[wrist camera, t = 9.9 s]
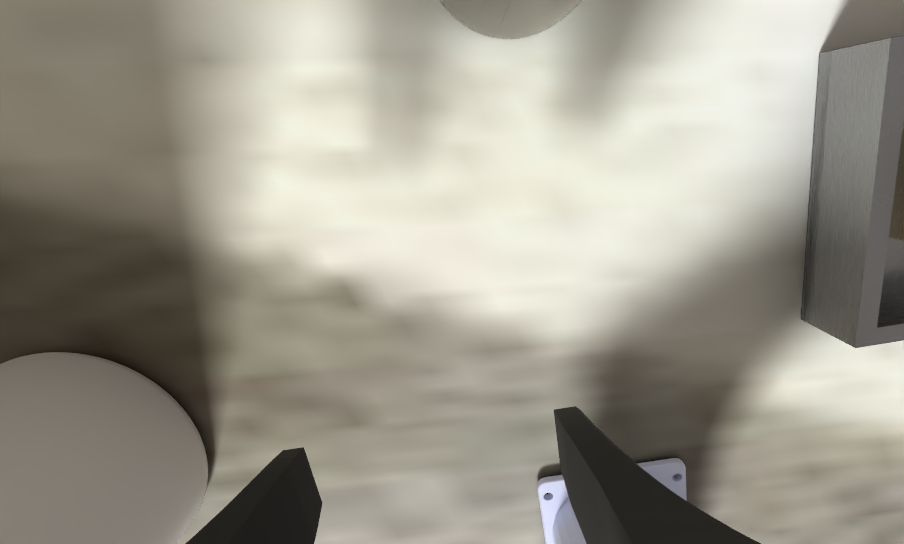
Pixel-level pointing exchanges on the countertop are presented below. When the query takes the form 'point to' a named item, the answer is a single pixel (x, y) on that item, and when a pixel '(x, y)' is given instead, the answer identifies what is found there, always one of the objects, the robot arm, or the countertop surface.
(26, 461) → the cylinder vase
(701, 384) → the countertop surface
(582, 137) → the countertop surface
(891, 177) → the square metal tray
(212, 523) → the robot arm
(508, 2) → the supplement bottle
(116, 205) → the countertop surface
